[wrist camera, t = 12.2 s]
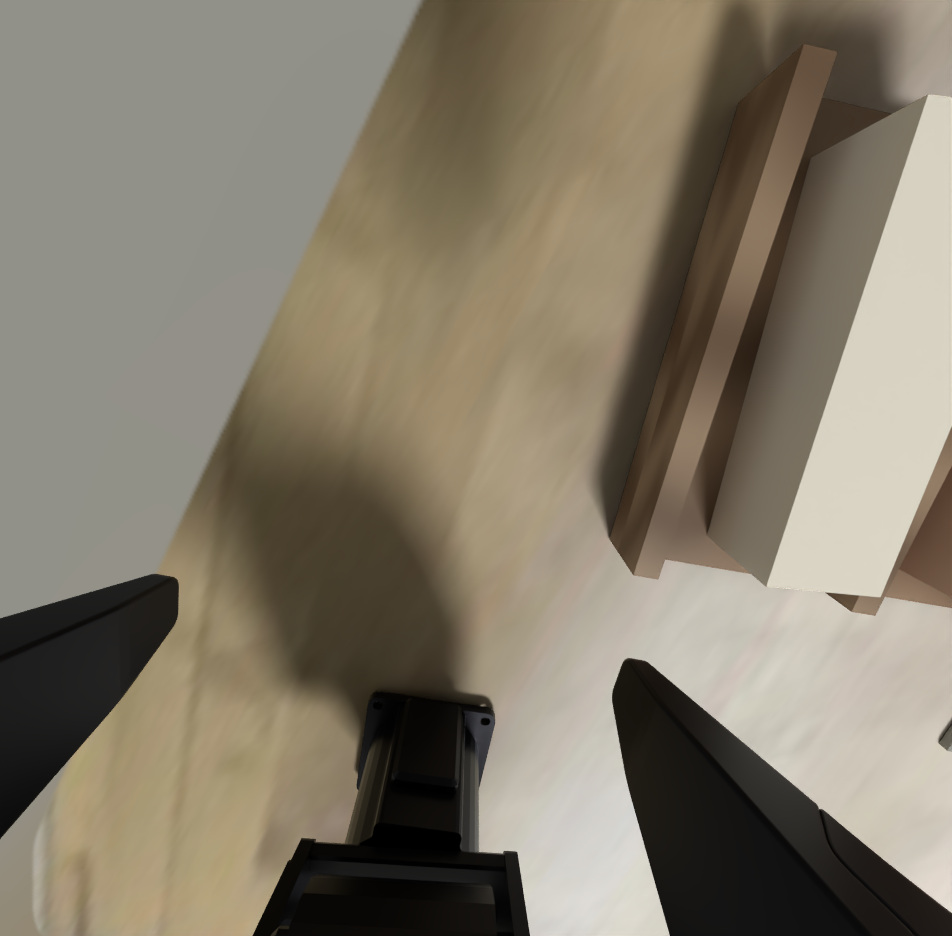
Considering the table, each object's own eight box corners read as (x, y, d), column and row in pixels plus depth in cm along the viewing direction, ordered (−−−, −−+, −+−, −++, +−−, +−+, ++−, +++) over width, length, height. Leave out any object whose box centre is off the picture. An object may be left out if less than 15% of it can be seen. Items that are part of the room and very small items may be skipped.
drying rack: (992, 604, 21) (1081, 650, 18) (609, 538, 20) (633, 575, 17) (1225, 212, 16) (1399, 183, 13) (738, 103, 15) (803, 44, 12)
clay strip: (798, 544, 19) (880, 597, 15) (706, 535, 19) (766, 586, 15) (925, 171, 15) (1081, 113, 11) (810, 157, 15) (928, 94, 11)
